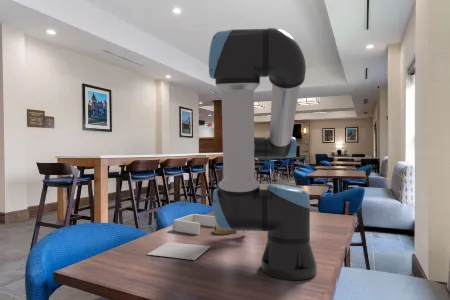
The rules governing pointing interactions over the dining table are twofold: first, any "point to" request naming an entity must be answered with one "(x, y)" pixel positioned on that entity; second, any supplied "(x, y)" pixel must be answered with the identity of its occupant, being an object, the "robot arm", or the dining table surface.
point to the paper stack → (180, 250)
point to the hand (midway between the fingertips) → (245, 232)
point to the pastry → (221, 231)
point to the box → (193, 223)
